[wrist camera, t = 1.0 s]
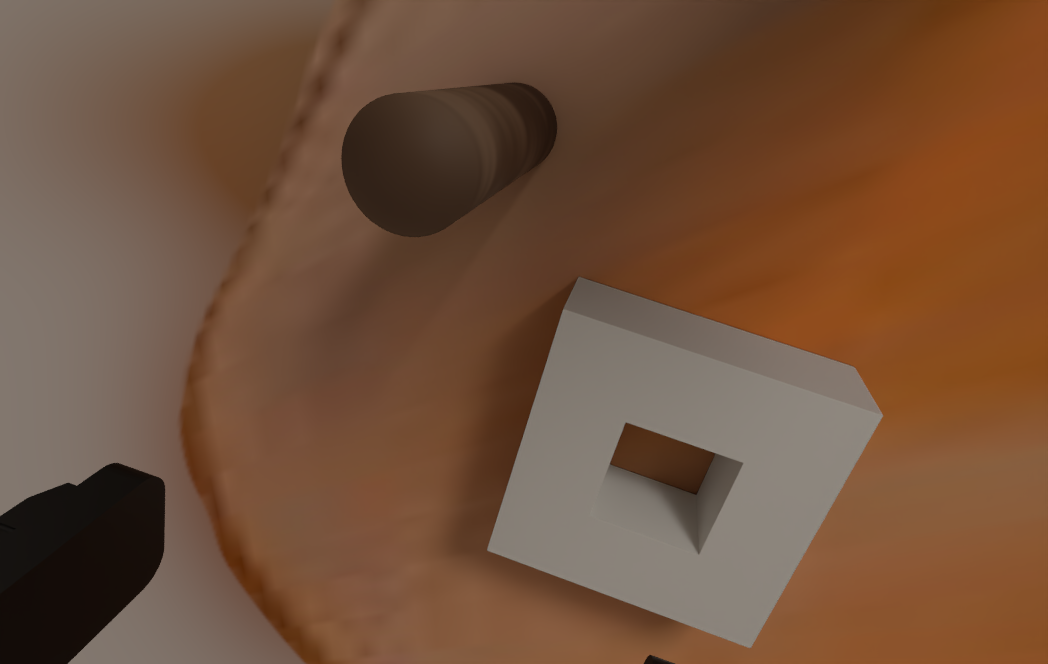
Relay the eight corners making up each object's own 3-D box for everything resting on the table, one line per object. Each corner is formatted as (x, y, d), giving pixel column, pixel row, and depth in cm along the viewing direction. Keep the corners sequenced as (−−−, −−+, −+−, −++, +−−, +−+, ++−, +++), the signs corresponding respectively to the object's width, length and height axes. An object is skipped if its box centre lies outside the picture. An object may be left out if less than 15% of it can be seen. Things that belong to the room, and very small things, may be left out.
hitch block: (578, 276, 34) (563, 308, 29) (854, 367, 33) (883, 415, 28) (508, 494, 40) (486, 550, 35) (741, 579, 38) (750, 648, 34)
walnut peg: (485, 72, 31) (353, 75, 19) (567, 96, 31) (489, 117, 18) (466, 156, 33) (332, 213, 20) (543, 181, 33) (457, 254, 20)
